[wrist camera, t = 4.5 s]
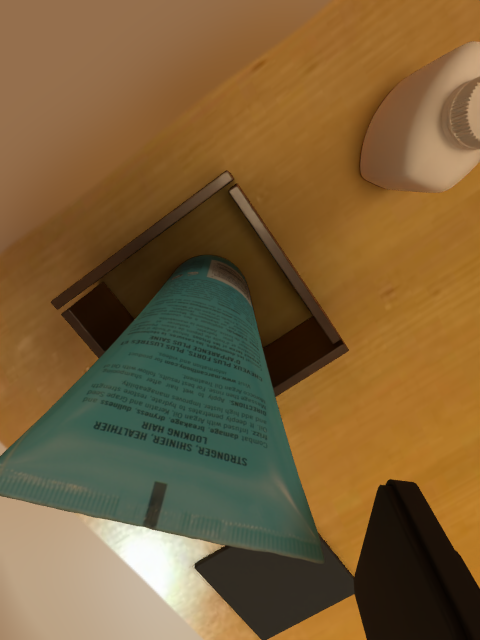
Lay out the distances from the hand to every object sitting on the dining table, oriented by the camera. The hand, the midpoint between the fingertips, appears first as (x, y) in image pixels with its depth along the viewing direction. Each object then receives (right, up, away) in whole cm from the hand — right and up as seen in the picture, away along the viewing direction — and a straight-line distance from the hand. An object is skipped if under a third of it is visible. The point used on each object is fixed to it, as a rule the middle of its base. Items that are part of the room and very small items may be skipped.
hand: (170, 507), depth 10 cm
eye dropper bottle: (+10, +15, +15) cm, 23 cm away
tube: (0, +6, +18) cm, 19 cm away
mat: (+4, -15, +24) cm, 29 cm away
